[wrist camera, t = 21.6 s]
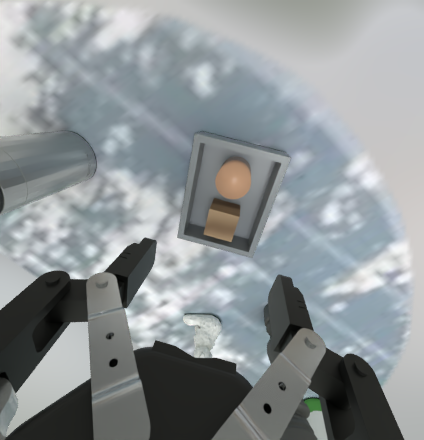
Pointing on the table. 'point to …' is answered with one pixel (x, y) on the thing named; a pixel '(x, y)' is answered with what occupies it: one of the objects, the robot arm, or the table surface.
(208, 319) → the white creature statuette
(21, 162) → the robot arm
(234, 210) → the walnut cube
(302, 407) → the candle holder
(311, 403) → the wine bottle
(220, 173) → the tan cylinder
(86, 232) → the table surface
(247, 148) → the grey tote
